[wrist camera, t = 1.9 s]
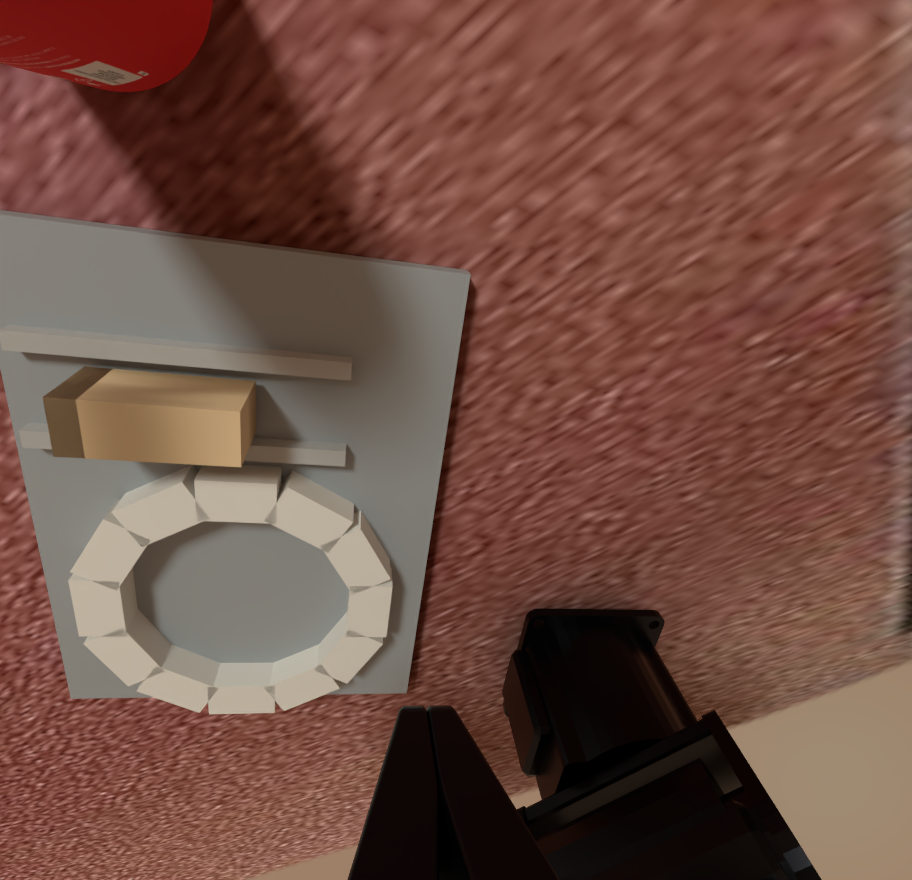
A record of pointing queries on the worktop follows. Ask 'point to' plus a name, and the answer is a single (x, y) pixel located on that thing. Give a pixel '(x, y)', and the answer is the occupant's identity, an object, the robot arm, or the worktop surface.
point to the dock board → (234, 488)
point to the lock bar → (152, 417)
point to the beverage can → (104, 39)
